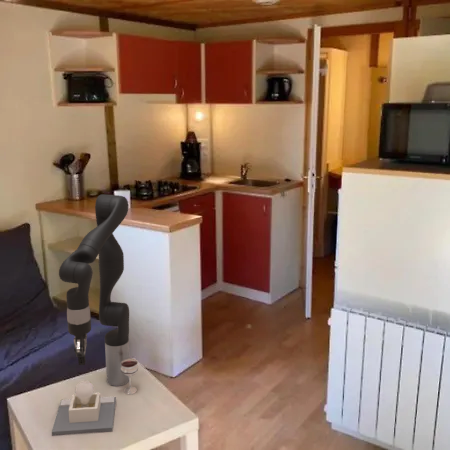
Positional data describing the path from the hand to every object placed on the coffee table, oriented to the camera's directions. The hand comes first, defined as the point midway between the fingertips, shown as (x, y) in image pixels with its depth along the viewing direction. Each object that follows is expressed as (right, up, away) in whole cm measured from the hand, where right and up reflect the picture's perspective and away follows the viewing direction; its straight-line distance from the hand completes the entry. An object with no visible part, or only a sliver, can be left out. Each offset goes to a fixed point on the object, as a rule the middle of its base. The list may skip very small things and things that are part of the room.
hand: (82, 363), depth 178 cm
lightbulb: (0, -18, +5) cm, 18 cm away
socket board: (0, -21, +6) cm, 21 cm away
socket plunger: (0, -19, +5) cm, 20 cm away
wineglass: (+13, -16, +22) cm, 30 cm away
